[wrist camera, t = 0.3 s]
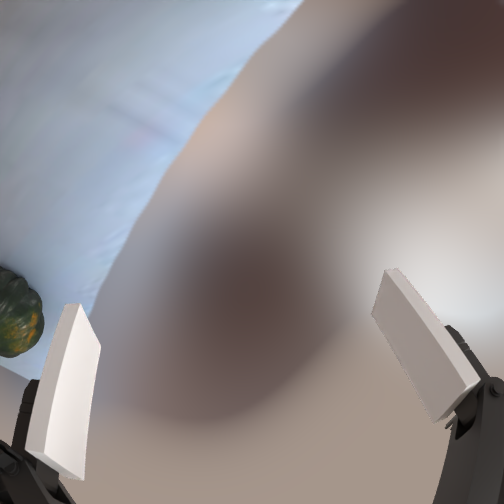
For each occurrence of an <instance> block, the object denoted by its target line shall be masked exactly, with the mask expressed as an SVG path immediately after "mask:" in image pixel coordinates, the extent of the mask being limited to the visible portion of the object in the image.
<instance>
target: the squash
mask: <svg viewBox="0 0 504 504" xmlns="http://www.w3.org/2000/svg"><path fill="white" fill-rule="evenodd" d="M43 329H44V316H43V313H42V300H41V298H40V296H39V295H38V293H37V292H35V291H34V290H32V289H28V283H27V281H26V280H25V279H24V278H22V277H21V278H17V277H16V275H15V274H14V273H13V272H11V271H9V270H5V269H3V268H2V267H0V356H3V357H6V358H13V357H16V356H18V355H19V354H21V353H24V352H26V351H28V350H29V349H31V348H32V347H33V346H34V345H36V343H37V342H38V341H39V339H40V337H41V335H42V333H43Z"/></svg>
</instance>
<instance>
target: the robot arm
mask: <svg viewBox="0 0 504 504" xmlns="http://www.w3.org/2000/svg"><path fill="white" fill-rule="evenodd" d="M371 314H372V317H373V318H374V320H375V322H376V323H377V325H378V326H379V328H380V330H381V332H382V333H383V335H384V336H385V338H386V340H387V341H388V343H389V345H390V347H391V348H392V350H393V352H394V354H395V355H396V357H397V359H398V360H399V362H400V364H401V366H402V367H403V369H404V371H405V373H406V375H407V376H408V378H409V380H410V382H411V384H412V385H413V387H414V389H415V391H416V393H417V395H418V396H419V398H420V400H421V402H422V404H423V406H424V407H425V410H426V411H427V413H428V415H429V417H430V419H431V421H432V423H433V424H435V423H437V422H439V421H441V420H443V419H445V418H447V417H448V416H449V415H450V414H451V413H452V412H453V411H455V413H456V415H455V416H454V417H453V418H452V419H451V420H450V421H449V422H448V423H447V424H446V427H445V429H447V428H448V427H450V426H451V425H452V424H453V425H452V427H451V429H450V430H451V436H450V440H449V445H448V450H447V454H446V459H445V462H444V466H443V470H442V474H441V478H440V481H439V485H438V488H437V491H436V495H435V498H434V501H433V504H504V381H503V380H502V379H500V378H498V377H490V376H489V375H488V374H487V372H486V371H485V369H484V368H483V366H482V365H481V363H480V362H479V360H478V359H477V358H476V356H475V355H474V353H473V352H472V351H471V350H470V348H469V346H468V345H467V343H465V341H464V339H463V338H462V336H461V335H460V334H459V332H458V331H456V330H455V329H454V328H452V327H451V326H450V325H447V326H443V324H442V323H441V322H440V320H439V319H438V318H437V316H436V315H435V314H434V312H433V311H432V310H431V308H430V307H429V306H428V305H427V303H426V302H425V301H424V299H423V298H422V297H421V296H420V294H419V293H418V292H417V290H416V289H415V288H414V287H413V286H412V284H411V283H410V282H409V281H408V279H407V278H406V277H405V276H404V275H403V274H402V272H401V271H400V270H399V269H398V268H395V269H389V270H385V271H384V274H383V278H382V281H381V284H380V288H379V291H378V294H377V297H376V301H375V304H374V307H373V310H372V313H371ZM100 350H101V346H100V343H99V341H98V340H97V337H96V335H95V333H94V332H93V329H92V327H91V325H90V323H89V321H88V319H87V317H86V314H85V312H84V310H83V308H82V305H81V303H75V304H65V306H64V309H63V311H62V314H61V317H60V319H59V322H58V325H57V328H56V331H55V334H54V336H53V339H52V342H51V345H50V349H49V352H48V355H47V358H46V361H45V365H44V368H43V371H42V375H41V379H40V380H34V379H32V380H31V381H30V383H29V384H28V386H27V387H26V389H25V391H24V394H23V398H22V404H21V406H20V409H19V411H20V413H19V414H18V418H17V422H16V427H15V431H14V436H13V441H12V446H11V447H10V446H9V445H8V444H7V443H5V442H4V441H2V440H0V504H76V503H75V502H74V500H73V499H72V497H71V496H70V494H69V493H68V492H67V490H66V489H65V487H64V486H63V484H62V483H61V482H60V480H59V479H58V477H59V473H60V474H61V475H63V476H65V477H66V478H71V479H77V480H84V472H85V457H86V445H87V435H88V426H89V417H90V410H91V402H92V396H93V389H94V383H95V376H96V371H97V365H98V360H99V355H100Z"/></svg>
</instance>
